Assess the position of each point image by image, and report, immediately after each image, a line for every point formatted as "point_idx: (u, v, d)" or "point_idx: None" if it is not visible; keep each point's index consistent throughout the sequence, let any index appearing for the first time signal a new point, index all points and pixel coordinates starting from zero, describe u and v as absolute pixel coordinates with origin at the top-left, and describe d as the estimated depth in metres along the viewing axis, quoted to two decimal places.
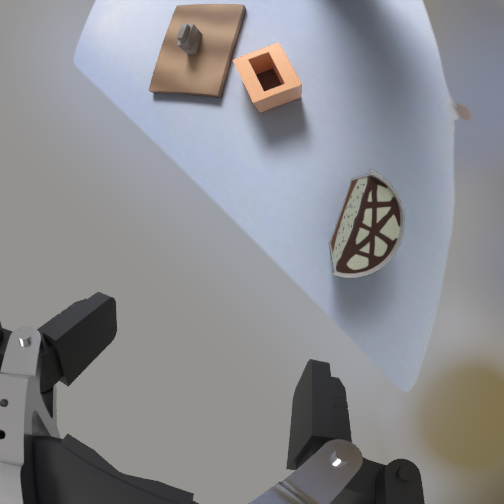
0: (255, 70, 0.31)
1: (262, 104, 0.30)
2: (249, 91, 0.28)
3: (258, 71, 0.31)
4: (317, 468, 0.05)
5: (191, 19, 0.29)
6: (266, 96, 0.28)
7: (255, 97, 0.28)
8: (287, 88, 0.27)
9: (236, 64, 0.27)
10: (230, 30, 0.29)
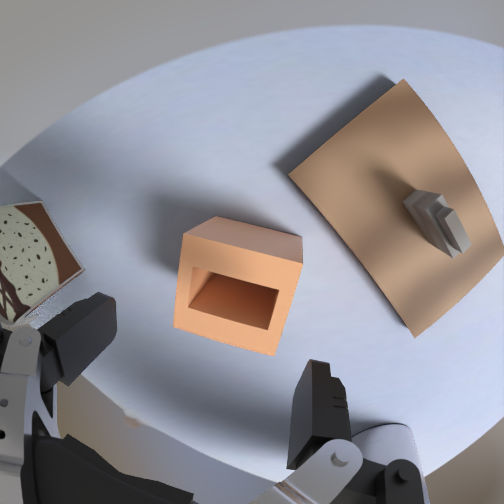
0: None
1: None
2: (209, 243, 0.14)
3: None
4: (317, 468, 0.05)
5: (468, 250, 0.16)
6: (181, 263, 0.15)
7: (191, 244, 0.14)
8: (177, 303, 0.16)
9: (286, 263, 0.14)
10: (393, 287, 0.18)
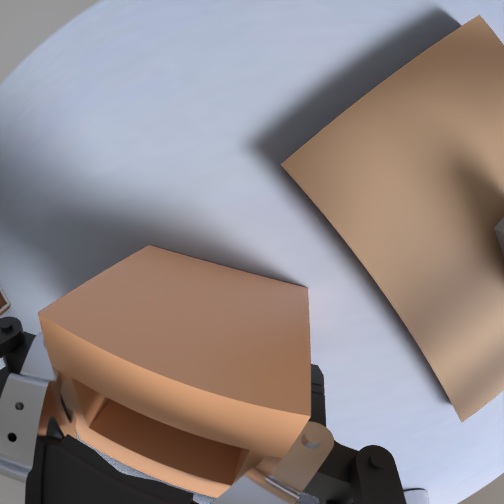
0: None
1: None
2: (82, 344, 0.05)
3: None
4: None
5: None
6: (54, 365, 0.05)
7: (55, 337, 0.05)
8: None
9: (266, 414, 0.05)
10: (453, 369, 0.08)
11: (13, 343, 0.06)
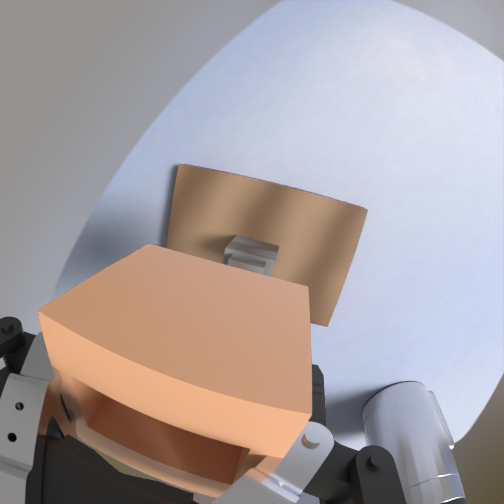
0: None
1: None
2: (82, 342, 0.05)
3: None
4: None
5: (318, 241, 0.22)
6: (53, 363, 0.05)
7: (55, 335, 0.05)
8: None
9: (267, 412, 0.04)
10: None
11: (13, 343, 0.06)
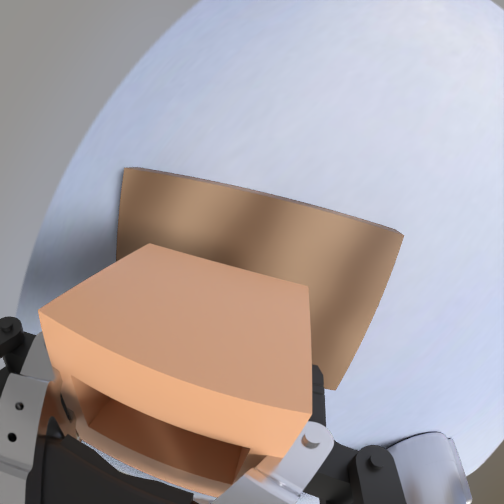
0: None
1: None
2: (82, 341, 0.05)
3: None
4: None
5: (329, 282, 0.14)
6: (53, 363, 0.05)
7: (55, 335, 0.05)
8: None
9: (267, 412, 0.05)
10: None
11: (13, 343, 0.06)
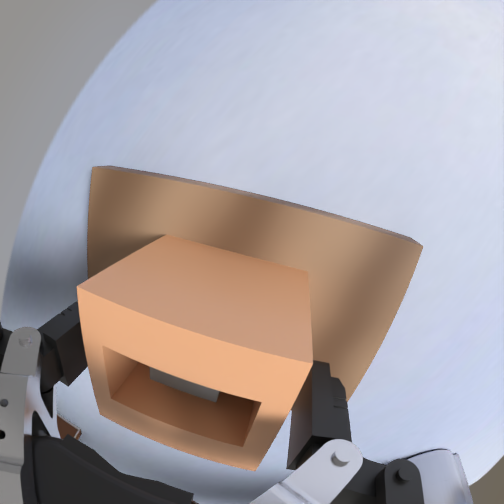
0: None
1: None
2: (119, 310, 0.06)
3: None
4: (317, 468, 0.05)
5: (333, 302, 0.12)
6: (85, 336, 0.07)
7: (92, 307, 0.07)
8: (96, 390, 0.08)
9: (277, 362, 0.06)
10: None
11: None
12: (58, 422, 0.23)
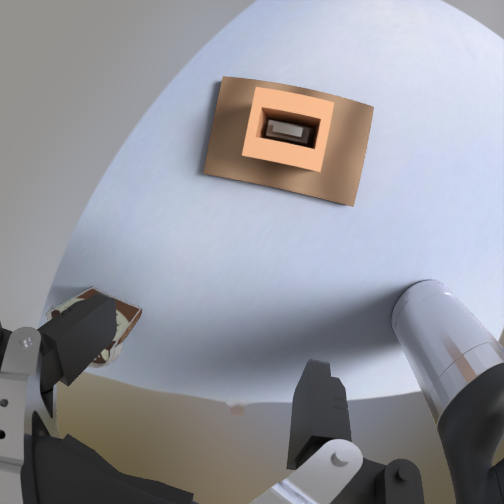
0: (316, 128, 0.24)
1: None
2: (274, 91, 0.19)
3: (315, 132, 0.25)
4: (317, 468, 0.05)
5: (338, 129, 0.25)
6: (253, 105, 0.20)
7: (261, 92, 0.20)
8: (247, 135, 0.21)
9: (324, 102, 0.19)
10: (305, 186, 0.27)
11: None
12: (120, 305, 0.36)
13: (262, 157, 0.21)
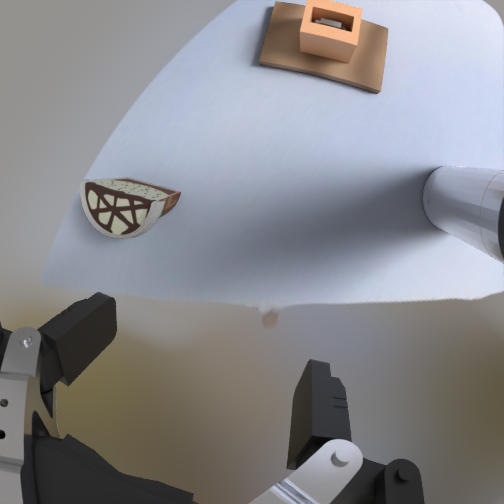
0: None
1: None
2: None
3: None
4: (317, 468, 0.05)
5: (364, 39, 0.26)
6: (307, 5, 0.21)
7: None
8: (303, 20, 0.22)
9: (355, 8, 0.20)
10: (342, 73, 0.28)
11: None
12: (158, 187, 0.37)
13: (315, 33, 0.22)
